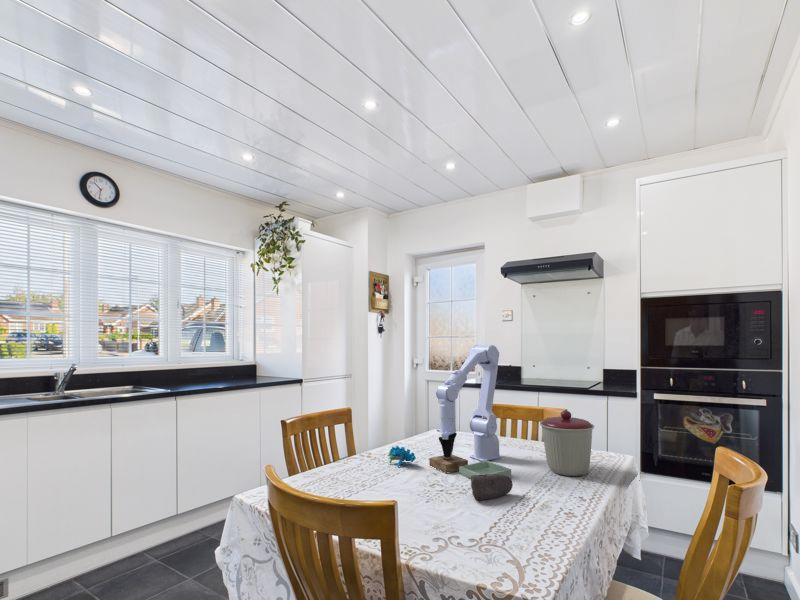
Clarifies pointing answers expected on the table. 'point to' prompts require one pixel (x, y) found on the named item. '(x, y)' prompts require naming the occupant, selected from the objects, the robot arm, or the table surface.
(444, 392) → the robot arm
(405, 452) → the blue bumpy piece
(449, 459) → the pin
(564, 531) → the table surface
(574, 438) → the canister
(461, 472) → the tray
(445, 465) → the block
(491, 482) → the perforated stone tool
